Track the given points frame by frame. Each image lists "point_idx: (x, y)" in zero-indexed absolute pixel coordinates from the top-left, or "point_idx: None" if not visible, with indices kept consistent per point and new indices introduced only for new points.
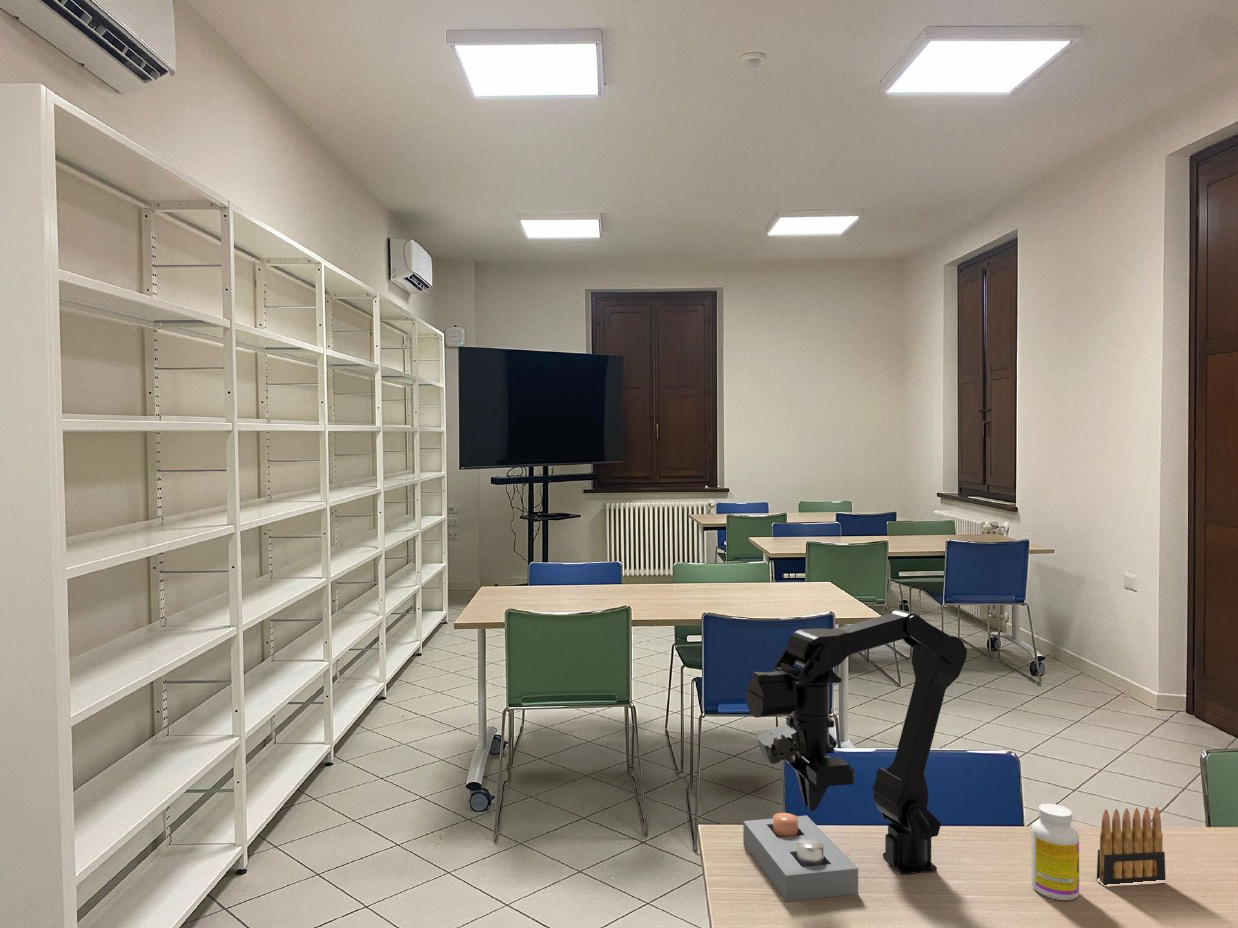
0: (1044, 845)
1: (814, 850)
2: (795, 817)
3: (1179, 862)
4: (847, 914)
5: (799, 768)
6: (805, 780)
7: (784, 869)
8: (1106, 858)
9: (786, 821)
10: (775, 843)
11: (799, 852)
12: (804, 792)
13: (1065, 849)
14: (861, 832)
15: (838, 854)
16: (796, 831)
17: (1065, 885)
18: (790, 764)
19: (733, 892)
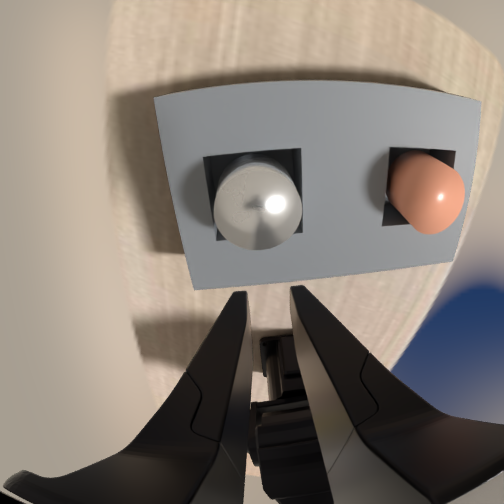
0: None
1: (223, 215)
2: (430, 229)
3: (252, 467)
4: (124, 211)
5: (373, 473)
6: (200, 443)
7: (189, 100)
8: None
9: (421, 196)
10: (357, 125)
11: (244, 168)
12: (306, 337)
13: None
14: (403, 321)
15: (265, 270)
16: (398, 210)
17: None
18: (425, 490)
19: None
